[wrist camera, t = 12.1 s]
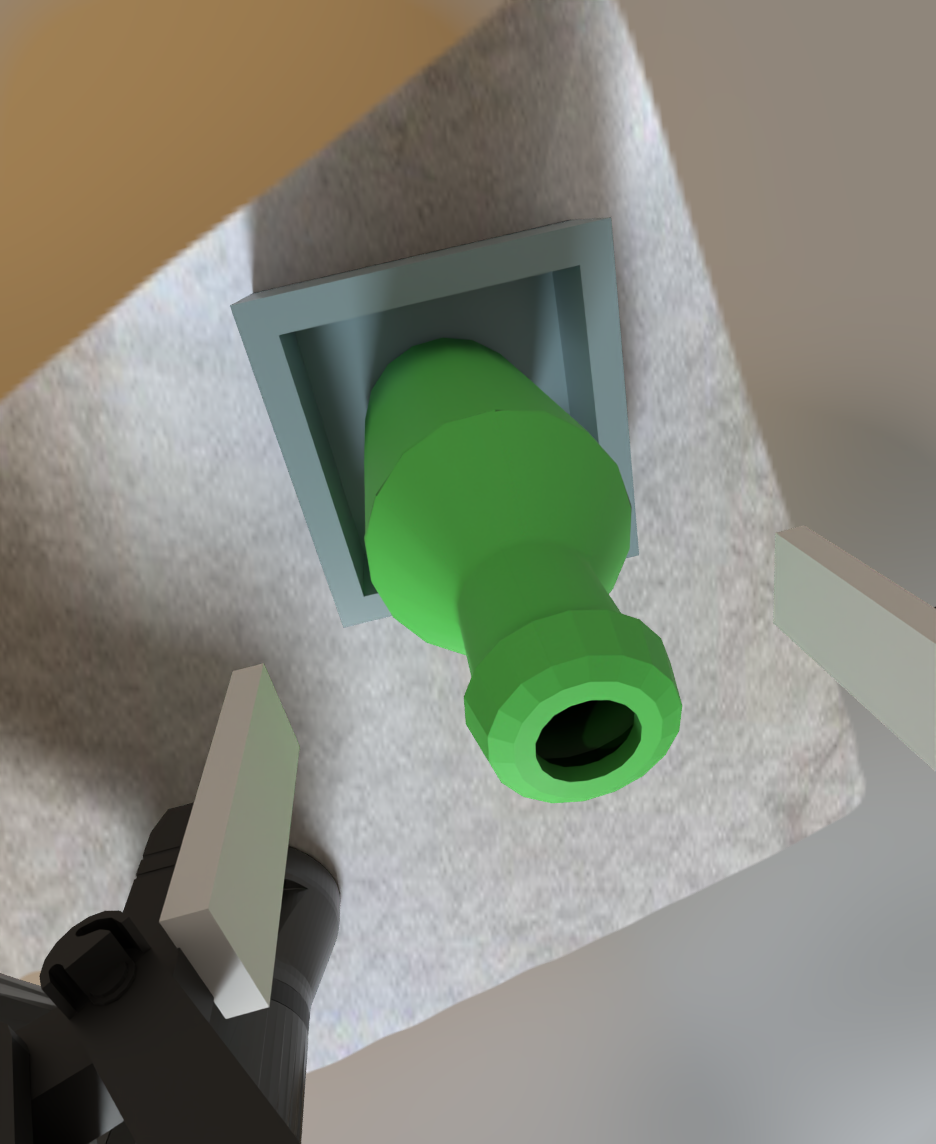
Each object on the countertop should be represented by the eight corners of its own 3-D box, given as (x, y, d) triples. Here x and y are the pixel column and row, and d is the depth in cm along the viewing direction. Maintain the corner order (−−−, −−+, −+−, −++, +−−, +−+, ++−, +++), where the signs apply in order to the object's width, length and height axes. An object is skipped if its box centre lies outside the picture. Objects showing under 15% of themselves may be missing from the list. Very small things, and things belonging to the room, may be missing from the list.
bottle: (509, 314, 33) (803, 480, 11) (542, 472, 37) (802, 824, 15) (341, 363, 33) (292, 629, 11) (392, 516, 37) (433, 933, 15)
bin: (346, 574, 39) (343, 627, 34) (252, 293, 32) (229, 305, 26) (602, 512, 40) (638, 554, 34) (570, 219, 32) (611, 217, 27)
